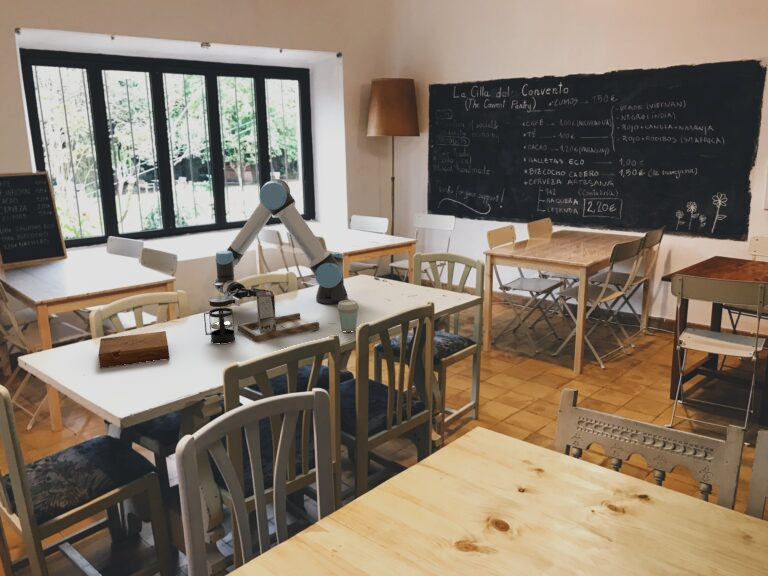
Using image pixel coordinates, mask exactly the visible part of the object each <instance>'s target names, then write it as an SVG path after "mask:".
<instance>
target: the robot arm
mask: <svg viewBox="0 0 768 576" xmlns="http://www.w3.org/2000/svg"><path fill="white" fill-rule="evenodd" d="M295 200H296V199H294V197H293V195H292V194H291V190H290V187H289V184H288V183H287V182H285V180H282V179H279V178H275V179H272V180H269V181H267V182H265V183H264V184H263V185H262V187H261V188H260V191H259V201H260V203H259V204H258V205H257V207H256V208H255V210H253V212H252V214H251V215H250V216H249V218H248V220H247V221H246V222H245V223H244V225H243V227H242V228H241V229H240V231H239V232H238V234H237V235H236V237H234V239H233V241H232V242H231V244H230V245H229V247H228V248H227V249H226V250H220V251H217V252H216V253H215V263H216V265H215V267H216V278H215V281H214V284H215V283H224V285H221V286H220V294H223V296H230V297H232V300H230V303H229V305H233V304H234V305H235V306H238V307H241V303H240V302H241V300H242V299H243V298H251V297H254V298H255V297H256V298H257V295H256V292H263V291H270V290H268V289H263V288H262V289H261V288H256V287H251V288H246V287H245V285H244V284H242V283H240V282H239V281H236V280H235V269H234V268H235V267H236V266H237V265H238V264H239V263H240V261H241V259H242V257H243V256H244V255H245V254H246V252H247V250H248V249H249V248H250V247H251V244H253V242H254V241H255V240H256V238H257V236H258V235H259V234H260V233H261V231H262V230H263V228H264V227H265V225H266V224H267V223H268V221H269V220H270V219H271V217H272V216H273V217H275V218H279V220H280V222H281V223H282V225H283V226H284V227H285V228H286V230H287V231H288V233H289V235H290V236H291V238H292V239H293V240H294V241H295V244H297V246H298V247H299V248H300V250H301V252H302V253H303V255H304V256H305V257H306V259H307V260H308V262H309V265H308V267H309V269H310V271H311V272H312V273H313V275H314V278H315V281H316V283H317V284H318V289H317V291H316V295H315V301H316V302H317V303H318V304H322V303H323V305H336V304H338V303H339V302H340V301H344V300H349V299H348V297H349V296H348V292H347V290H346V287H345V283H344V282H345V281H344V255H343V253H341V252H331V251H327V250H326V249H325V248H324V246H323V245H322V244H321V242H320V241H319V240H318V238H317V237H316V235H315V234H314V232H313V231H312V230H311V228H310V227H309V225H308V223H307V222H306V221H305V219H304V218H303V216H302V215H301V214H300V212H299V210H298V209H297V207H296V201H295ZM214 287H215V289H216V290H217V291H218V292H219V289H218V286H214Z"/></svg>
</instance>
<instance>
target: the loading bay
mask: <svg viewBox="0 0 768 576" xmlns="http://www.w3.org/2000/svg"><path fill="white" fill-rule="evenodd" d="M275 319H276V325H279V326H280V327H282V328H281V329H276V330H275V331H270V332H265V333H260V332H259V333H257V332H255V331H254V330H253V329H257V328H258V329H259V324H258V320H254V321H250V322H246V323H245V322H243V323H239V324H237V331H238V332H240V333H241V334H243V335H244V336H246V337H247V338H249V339H251V340H252V341H254V342H262V341H268V340H272V339H276V338H281V337H286V336H291V335H295V334H300V333H305V332H309V330H310V331H314V329H315V330H318V328H319V329H320V322H318V321H315V322H311V323H310V322H307V321H306V320H304V319H301V313H300V312H295V313H291V314H285V315H281V316H280V315H279V316H275Z"/></svg>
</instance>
